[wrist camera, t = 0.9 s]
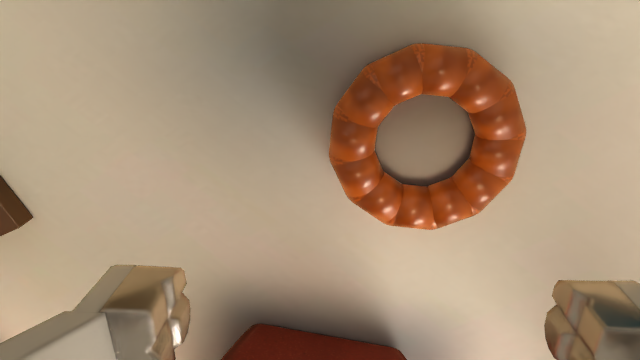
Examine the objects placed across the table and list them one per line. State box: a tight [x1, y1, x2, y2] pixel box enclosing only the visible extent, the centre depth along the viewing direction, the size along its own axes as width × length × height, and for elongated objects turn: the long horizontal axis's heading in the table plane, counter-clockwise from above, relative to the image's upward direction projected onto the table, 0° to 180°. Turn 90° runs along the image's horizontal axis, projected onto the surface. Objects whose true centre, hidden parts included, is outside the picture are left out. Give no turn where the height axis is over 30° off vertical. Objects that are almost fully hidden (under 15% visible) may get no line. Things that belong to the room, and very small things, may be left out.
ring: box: [329, 43, 526, 230], centre depth 26 cm, size 12×12×3 cm
